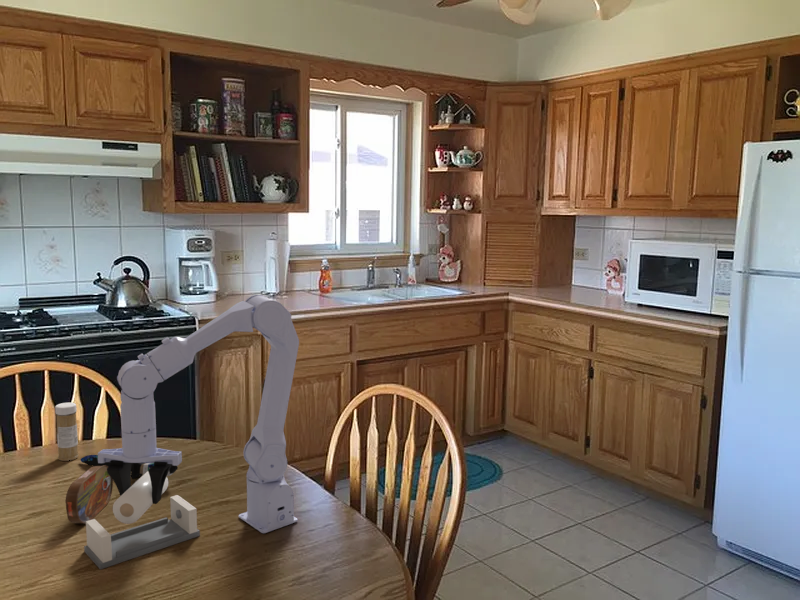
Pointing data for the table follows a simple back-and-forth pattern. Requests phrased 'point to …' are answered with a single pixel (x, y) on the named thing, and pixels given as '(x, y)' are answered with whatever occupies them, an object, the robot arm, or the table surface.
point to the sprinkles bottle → (67, 431)
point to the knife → (136, 468)
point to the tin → (88, 494)
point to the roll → (135, 500)
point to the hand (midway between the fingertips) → (141, 501)
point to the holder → (141, 536)
